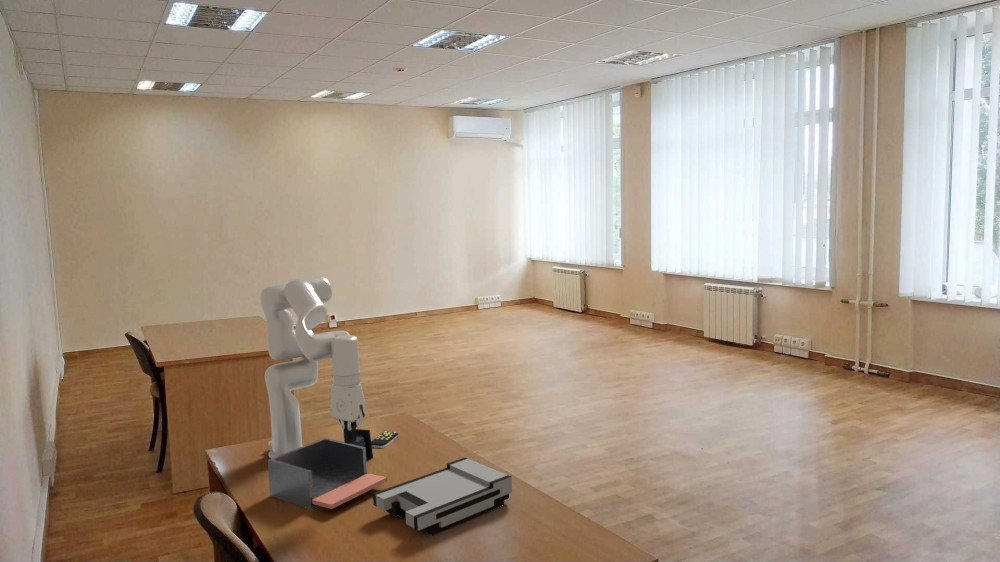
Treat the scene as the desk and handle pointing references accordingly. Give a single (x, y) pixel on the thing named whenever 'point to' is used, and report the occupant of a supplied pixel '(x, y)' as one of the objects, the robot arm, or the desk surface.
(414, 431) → the desk surface
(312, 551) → the desk surface
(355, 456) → the box
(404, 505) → the game console
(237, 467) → the desk surface
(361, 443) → the speaker
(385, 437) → the remote control
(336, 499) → the tailgate
